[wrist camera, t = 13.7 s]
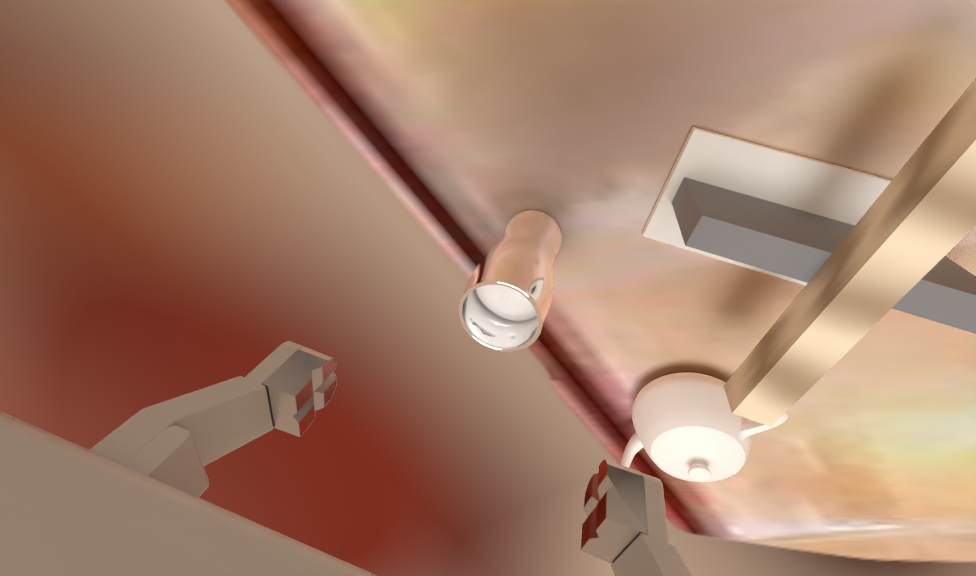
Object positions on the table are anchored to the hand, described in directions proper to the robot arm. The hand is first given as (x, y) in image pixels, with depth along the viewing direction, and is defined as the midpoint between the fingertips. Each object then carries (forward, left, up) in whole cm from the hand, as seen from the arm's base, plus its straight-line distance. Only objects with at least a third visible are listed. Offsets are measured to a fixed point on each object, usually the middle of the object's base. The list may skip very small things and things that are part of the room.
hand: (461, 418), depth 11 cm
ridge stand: (0, +20, -31) cm, 37 cm away
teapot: (+24, +22, -31) cm, 45 cm away
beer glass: (+9, -1, -31) cm, 33 cm away
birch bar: (0, +20, -21) cm, 29 cm away
